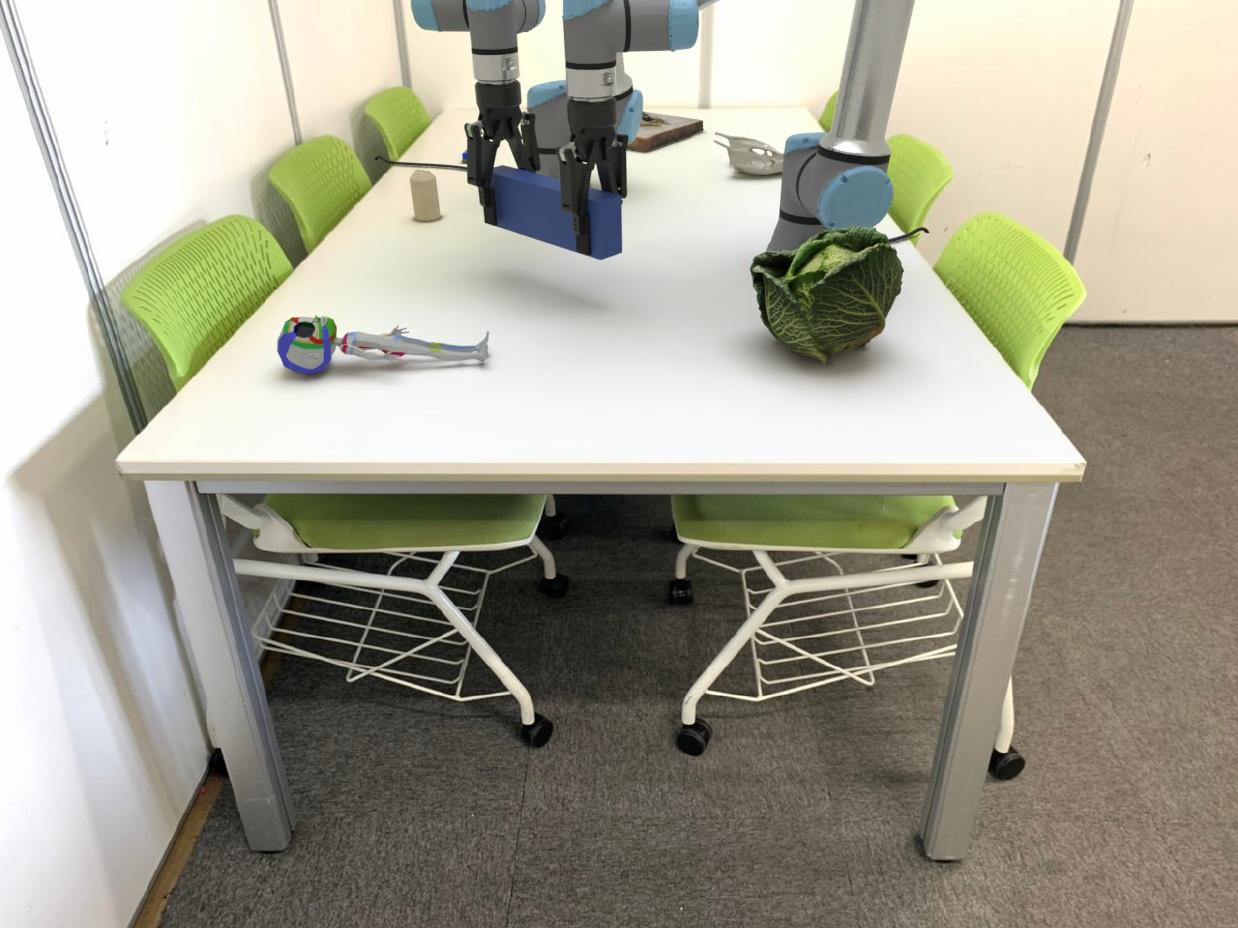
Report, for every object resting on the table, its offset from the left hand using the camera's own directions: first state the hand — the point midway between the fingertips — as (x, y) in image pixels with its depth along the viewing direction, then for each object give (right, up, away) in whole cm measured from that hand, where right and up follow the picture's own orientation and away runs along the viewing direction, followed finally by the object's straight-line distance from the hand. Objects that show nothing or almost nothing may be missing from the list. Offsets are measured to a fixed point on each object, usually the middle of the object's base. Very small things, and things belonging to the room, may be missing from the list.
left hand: (508, 218), depth 159 cm
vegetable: (+50, -26, -23) cm, 61 cm away
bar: (+8, -5, -6) cm, 11 cm away
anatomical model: (+55, +29, +63) cm, 89 cm away
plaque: (+24, +51, +100) cm, 115 cm away
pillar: (-19, +41, +84) cm, 95 cm away
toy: (-15, -29, -26) cm, 42 cm away
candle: (-22, +10, +36) cm, 43 cm away
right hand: (+16, -8, -13) cm, 22 cm away
